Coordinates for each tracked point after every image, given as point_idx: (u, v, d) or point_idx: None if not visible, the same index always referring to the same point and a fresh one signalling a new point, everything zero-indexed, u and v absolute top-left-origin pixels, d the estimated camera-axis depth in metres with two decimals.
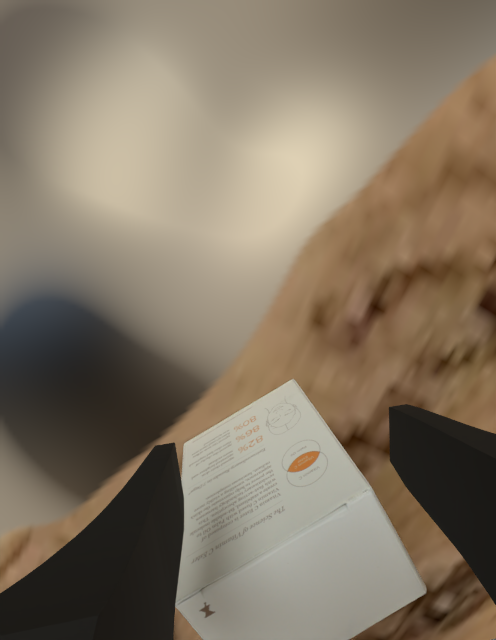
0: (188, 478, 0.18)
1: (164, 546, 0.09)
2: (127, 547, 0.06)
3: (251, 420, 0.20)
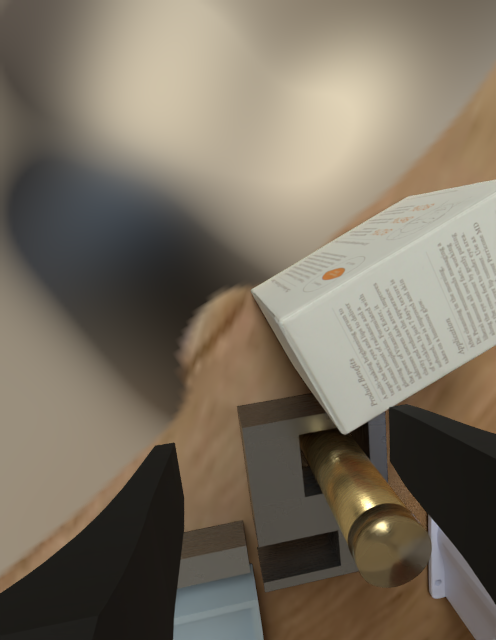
0: (352, 230, 0.20)
1: (164, 546, 0.09)
2: (127, 547, 0.06)
3: (426, 207, 0.16)
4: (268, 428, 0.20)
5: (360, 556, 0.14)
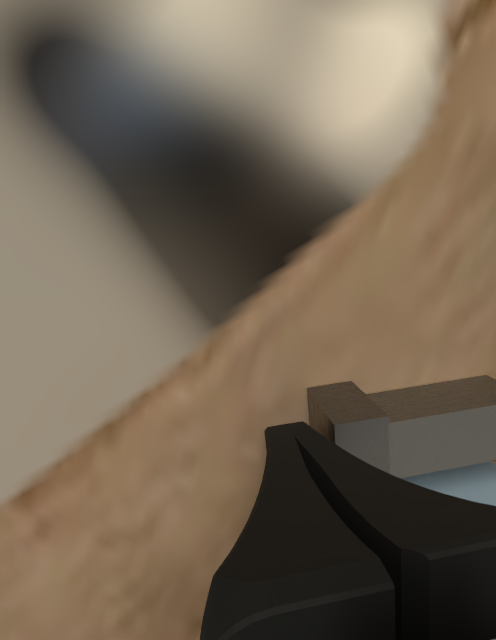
0: None
1: None
2: (323, 509, 0.07)
3: None
4: None
5: None
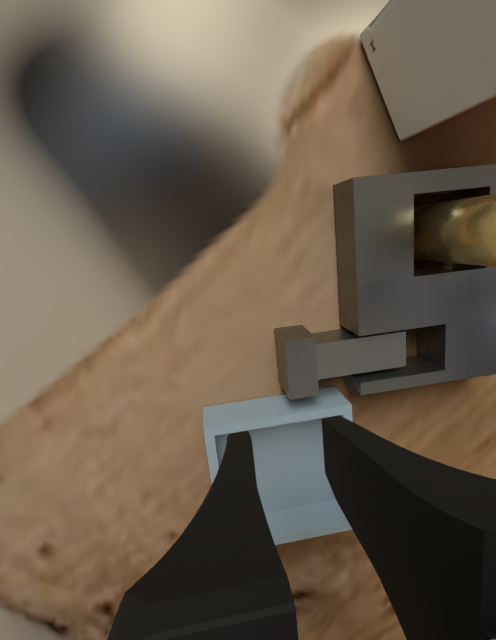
0: None
1: None
2: (258, 522, 0.07)
3: None
4: (381, 181, 0.17)
5: None
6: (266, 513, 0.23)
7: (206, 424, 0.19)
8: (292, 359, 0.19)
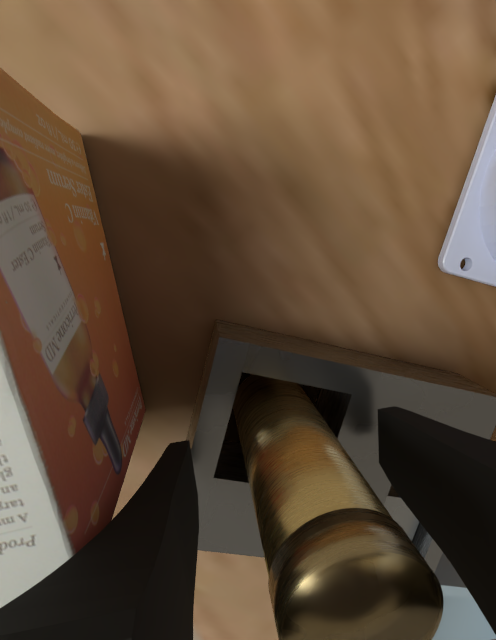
0: None
1: (183, 542, 0.09)
2: (153, 542, 0.06)
3: None
4: None
5: None
6: None
7: None
8: None
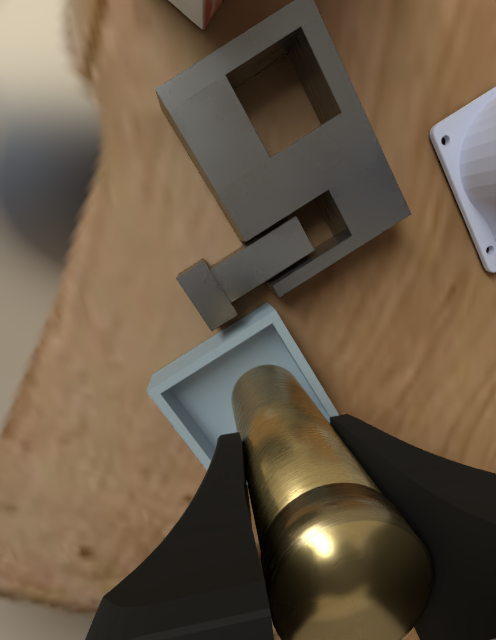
0: None
1: None
2: (242, 525, 0.07)
3: None
4: (186, 78, 0.16)
5: None
6: None
7: (150, 386, 0.20)
8: (193, 292, 0.18)
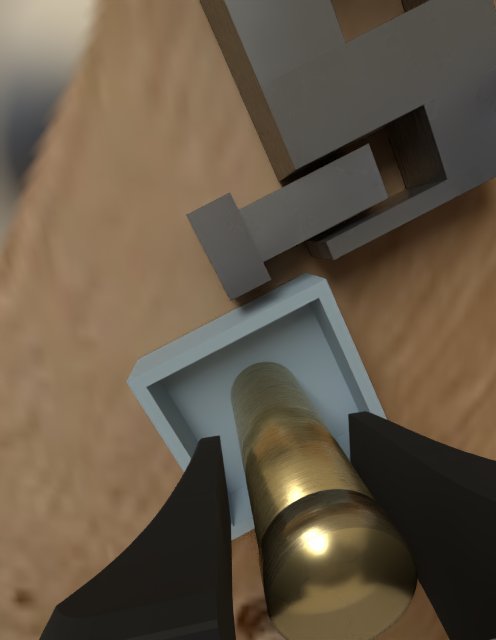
0: None
1: (223, 535, 0.09)
2: (208, 531, 0.06)
3: None
4: None
5: None
6: None
7: (132, 375, 0.13)
8: (209, 239, 0.12)
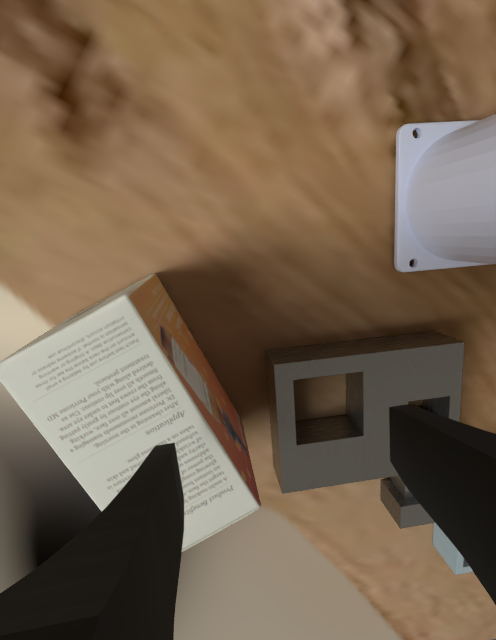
0: None
1: (164, 546, 0.09)
2: (127, 547, 0.06)
3: None
4: (285, 471, 0.21)
5: None
6: None
7: (451, 567, 0.25)
8: (415, 521, 0.23)
